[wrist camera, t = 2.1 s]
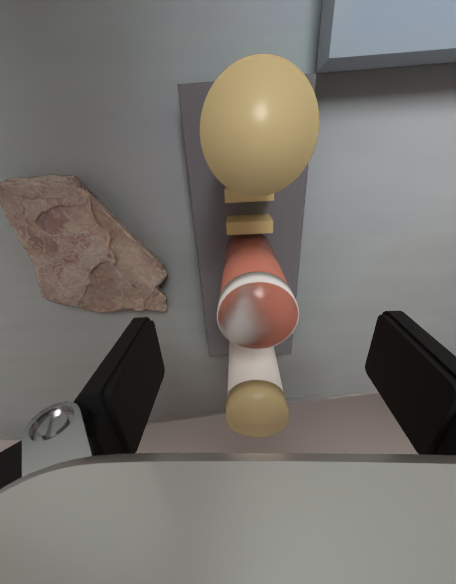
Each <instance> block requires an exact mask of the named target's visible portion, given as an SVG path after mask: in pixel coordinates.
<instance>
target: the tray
mask: <svg viewBox="0 0 456 584" xmlns="http://www.w3.org/2000/svg"><path fill="white" fill-rule="evenodd" d="M451 62H456V0H323V1H322V12H321V23H320V34H319V45H318V56H317V67H316V73H324V72H336V71H349V70H362V69H374V68H387V67H400V66H413V65H425V64H438V63H451Z"/></svg>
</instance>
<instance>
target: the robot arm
mask: <svg viewBox="0 0 456 584" xmlns="http://www.w3.org/2000/svg"><path fill="white" fill-rule="evenodd" d="M365 369H366V373H367V375H368V376H369V378H370V379H371V381H372V383H373V384H374V386H375V387H376V389H377V390H378V392H379V393H380V395H381V396H382V398H383V400H384V401H385V403H386V404H387V406H388V407H389V409H390V411H391V412H392V414H393V415H394V417H395V418H396V420H397V422H398V423H399V425H400V426H401V428H402V429H403V431H404V433H405V434H406V436H407V437H408V439H409V440H410V442H411V444H412V445H413V447H414V448H415V450H416V451H417V453H418V454H419V455H417V454H415V455H414V454H409V455H408V454H327V453H326V454H325V453H324V454H323V453H321V454H319V453H315V454H314V453H142V454H140V453H139V454H135V452H136V451H137V449H138V446H139V443H140V440H141V438H142V435H143V432H144V429H145V427H146V424H147V421H148V418H149V415H150V413H151V410H152V407H153V404H154V402H155V399H156V396H157V393H158V391H159V388H160V385H161V382H162V380H163V377H164V364H163V359H162V355H161V351H160V346H159V342H158V337H157V333H156V328H155V324H154V321H150V319H149V318H148V317H139V318H134V319H133V320H132V321H131V323H130V324H129V325H128V327H127V328H126V330H125V331H124V332H123V334H122V335H121V337H120V338H119V339H118V341H117V342H116V344H115V345H114V346H113V348H112V349H111V351H110V352H109V353H108V355H107V356H106V357H105V359H104V360H103V362H102V363H101V364H100V366H99V367H98V369H97V370H96V371H95V373H94V374H93V376H92V377H91V378H90V380H89V381H88V383H87V384H86V385H85V387H84V388H83V390H82V391H81V392H80V394H79V395H78V397H77V398H76V399H75V401H74V402H68V401H66V402H60V403H57V404H54V405H52V406H49V407H48V408H46V409H44V410H42V411H41V412H40V413H38V414H37V415H36V416H35V417H34V418H33V419H32V420H31V421H30V422H29V423H28V424H27V426H26V428H25V429H24V431H23V435H22V440H21V441H20V442H18V443H16V444H14V445H12V446H11V447H9V448H7V449H5V450H4V451H2V452H0V584H456V357H455V356H454V355H453V354H452V353H451V352H450V351H448V350H447V349H446V348H445V347H444V346H443V345H441V344H440V343H439V342H438V341H437V340H435V339H434V338H433V337H432V336H431V335H430V334H428V333H427V332H426V331H425V330H424V329H422V328H421V327H420V326H419V325H418V324H417V323H415V322H414V321H413V320H412V319H411V318H410V317H408V316H407V315H406V314H405V313H404V312H402V311H385V312H383V313H382V315H379V316H378V319H377V323H376V326H375V330H374V334H373V338H372V341H371V345H370V349H369V353H368V357H367V360H366V364H365Z"/></svg>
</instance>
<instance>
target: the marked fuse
mask: <svg viewBox="0 0 456 584" xmlns="http://www.w3.org/2000/svg"><path fill="white" fill-rule="evenodd" d="M298 320H299V307H298V304H297V302H296V299H295V297H294V295H293V293H292V290H291V288H290V287H289V286H288V284H287V281H286V279H285V277H284V274H283V272H282V270H281V267H280V265H279V263H278V261H277V258H276V256H275V254H274V251H273V249H272V247H271V244H270V242H269V240H268V239H267V238H266V237H265V236H264V235H263V234H243V235H234V236H233V237H232V238H231V239H230V240H229V242H228V244H227V246H226V252H225V260H224V268H223V277H222V285H221V293H220V297H219V302H218V310H217V322H218V326H219V328H220V330H221V332H222V333H223V335H224V336H225V337H226V338H227V339H228V340H229V341H231V342H232V343H234V344H236V345H238V346H240V347H243V348H247V349H265V348H270V347H273V346H276V345H278V344H280V343H281V342H283V341H284V340H286V339H287V338H288V337H289V336H290V335H291V334H292V333H293V331H294V330H295V328H296V326H297V323H298Z"/></svg>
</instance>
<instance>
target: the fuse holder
mask: <svg viewBox="0 0 456 584" xmlns="http://www.w3.org/2000/svg"><path fill="white" fill-rule="evenodd" d="M315 83H316V74H303V72H302V71H301V70H300V69H299V68H298V67H297V66H295V65H294V64H293V63H292V62H290V61H288V60H286V59H285V58H282V57H279V56H277V55H271V54H255V55H250V56H247V57H244V58H242V59H240V60H238V61H236V62H234V63H233V64H231V65H230V66H229V67H227V68H226V69H225V70H224V71H223V72H222V73H221V74H220V75H219V77H218V78H217V79H216V80H215V82H202V83H190V84H178V91H179V99H180V108H181V116H182V125H183V133H184V142H185V150H186V159H187V167H188V176H189V184H190V193H191V202H192V210H193V219H194V227H195V236H196V244H197V253H198V261H199V270H200V278H201V287H202V295H203V304H204V312H205V321H206V329H207V338H208V346H209V355H210V356H225V355H229V365H228V392H227V398H226V422H227V424H228V426H229V427H230V428H231V429H232V430H233V431H235V432H236V433H238V434H241V435H244V436H247V437H267V436H270V435H273V434H276V433H278V432H280V431H281V430H282V429H284V428H285V427H286V425H287V424H288V421H289V412H288V408H287V403H286V398H285V394H284V392H283V387H282V383H281V378H280V373H279V368H278V363H277V359H276V354H291V348H292V337H293V333H292V334H291V335H290V336H289V337H288V338H287V339H286V340H284V341H283V342H281V343H280V344H278V345H276V346H273V347H270V348H265V349H247V348H243V347H240V346H238V345H236V344H234V343H232V342H231V341H229V340H228V339H227V338H226V337H225V336H224V335H223V333H222V332H221V330H220V328H219V326H218V322H217V310H218V302H219V297H220V293H221V285H222V277H223V268H224V260H225V252H226V246H227V244H228V242H229V240H230V239H231V238H232V237H233V236H234V235H243V234H263V235H264V236H265V237H266V238H267V239H268V240H269V242H270V244H271V247H272V249H273V251H274V254H275V256H276V258H277V261H278V263H279V265H280V267H281V270H282V272H283V274H284V277H285V279H286V281H287V284H288V286H289V287H290V288H291V290H292V293H293V295H294V297H295V299H296V293H297V282H298V271H299V260H300V249H301V238H302V227H303V216H304V204H305V193H306V182H307V171H308V162H309V160H310V159H311V157H312V154H313V152H314V149H315V146H316V142H317V139H318V132H319V109H318V103H317V99H316V96H315Z"/></svg>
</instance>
